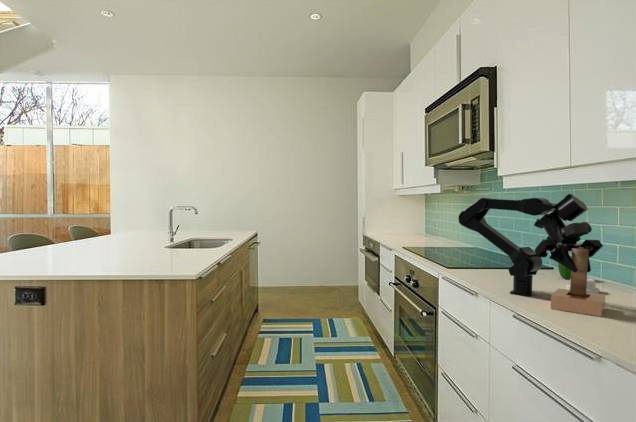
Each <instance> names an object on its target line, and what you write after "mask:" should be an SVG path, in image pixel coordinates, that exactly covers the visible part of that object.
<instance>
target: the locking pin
mask: <svg viewBox="0 0 636 422" xmlns="http://www.w3.org/2000/svg"><path fill="white" fill-rule="evenodd" d="M571 259H572V261H573V262H574V264H575V266H576V268H577V272H573V271H571V280H570V279H569V285H570V293H572V294H577V295H586V288H587V278H588V272H587V267H588V249H583V248H572V252H571Z"/></svg>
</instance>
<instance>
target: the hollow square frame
mask: <svg viewBox="0 0 636 422" xmlns="http://www.w3.org/2000/svg"><path fill="white" fill-rule="evenodd" d="M550 309H551V310H555V309H556V310H557V311H562V310H563V312H568V311H569V312H568V313H576V314H582V315H588V316H593V317H599V318H602V317H603V316H602V315H603V313H604V311H605V309H606V294H604V293H603V294H602V293H589V292H586V295H577V294H572V293H570V290H567V289H566V288H565V289H564V288H557V289H556V290H555V291H554V292H553V293H551V295H550Z"/></svg>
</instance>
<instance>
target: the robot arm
mask: <svg viewBox="0 0 636 422" xmlns="http://www.w3.org/2000/svg"><path fill="white" fill-rule="evenodd" d="M588 209H589V208H588V206H587V204H585V203H584V201H582V200H581V199H579V198H578V197H576V196H575V195H574V194H573V193H568V194H567V195H565V197H564V198H563V199H561V200H560V201H558V202H557V203H553V202H551V201H549V199H548V198H544V197H542V198H541V197H530V198H522V199H502V198H501V199H500V198H491V197H480V198H479V199H478V200H477V201H476V202H475V203H473V204H472V205H470V206H469V207H467V208H466V209H465V210H462V211H461V212H460V213H459V215H458V217H457V218H458V223H459V225H461V226H462V227H465V228H466V229H468V230H471V231H474V232H476V233H478V234H479V235H481V236H482V237H483V238H484V239H486V240H487V241H488V242H490V243H491V244H492V245H493V246H495V247H496V248H498V249H499V250H500V251H501V252H503V253H504V254H505V255H507V256H508V257H509V259H510V261H511V263H512V264H513V265H511V267H510V268H508V273H509V276H513V285H512V287H513V289H512V290H510V291H509V294H514V295H520V296H527V297H528V296H529V297H532V296H533V295H535V294H536V291H534V290H533V278H534V276H536V275H537V273H538V271H540V270H541V269H542V267H543V259H542V258H547V256H548V255H549V254H548V252H549V253H550V256H549V257H548V258H549V260H552V261H555V262H557V263H560V264H562V265H563V266H565V267H566V268H568V269H570V270H571V271H573V272H577V268H576V266H575V264H574V262H573V261H572V259H571V258H572V256H571V254H570V252H571V253H572V248H583V249H588V267H587V273H590V272H591V271H592V269H591V268H592V267H591V263H590V258H592V257H594V256H595V254H596V253H597V252H599V251H600V250H601V249H602V248H603V247H604V245H603V244H602V243H601V241H600V239H585V240H584V241H583V242H582V243H577V242H580V241H581V239H582V238H581V237H582V236H585V235H589V233H592V230H593V229H592V227H591V225H590V223H589V222H588V221H582V222H573V221H574V220H576V219H577V218H578V217H580V216H581V215H583V214H584V213H585V212H586V211H588ZM489 210H501V211H502V210H503V211H514V212H519V213H522V214H525V215H530V216H537V217H538V216H542V217H540V218H537V219H536V221H535V223H534V224H533V225H534V227H536V228H538V229H541V230H542V229H544V231H545V232H546V234H547V237H546V239H545V238H543V239H541V241H540V242H539V243H538V244H537V246H536V247H535V249H534V250H533V248H531V247H530V246H523V247H522V246H521V247H520V246H519V245H518V244H516V243H514V242H513V241H511V240H510V239H509V238H508V237H506V236H505V235H503V234H502V233H501V232H500V231H498V230H497V229H496V228H495V227H492V226H491V225H490V224H489V223H488V222H487V220H486V218H485V216H487V214H488V213H489ZM567 221H569V222H571V223H569V224H567V225H566V224H565V222H567ZM569 254H570V255H569ZM570 256H571V257H570Z"/></svg>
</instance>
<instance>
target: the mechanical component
mask: <svg viewBox="0 0 636 422" xmlns="http://www.w3.org/2000/svg"><path fill="white" fill-rule="evenodd" d="M570 280H571V278H570V279H569V281H570ZM565 289H566V290H570V284H566V285H565ZM586 292H589V293H597V294H600V288H598V287H596V280H595V279H593V278H592V279H591V278H588V277H587V288H586Z"/></svg>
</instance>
